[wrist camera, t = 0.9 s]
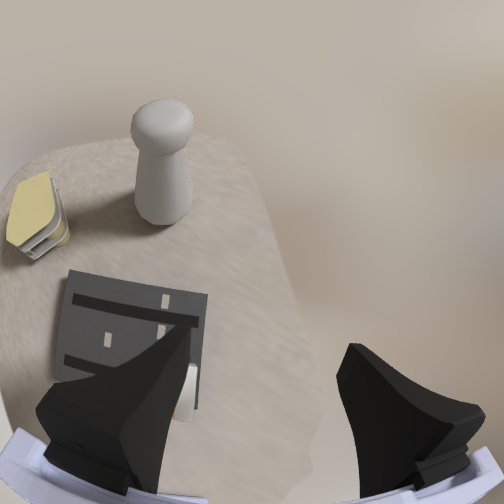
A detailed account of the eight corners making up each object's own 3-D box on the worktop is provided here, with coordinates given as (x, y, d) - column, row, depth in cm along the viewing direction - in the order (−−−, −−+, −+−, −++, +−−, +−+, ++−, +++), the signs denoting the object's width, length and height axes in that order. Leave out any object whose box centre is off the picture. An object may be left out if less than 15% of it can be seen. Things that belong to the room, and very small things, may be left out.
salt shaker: (129, 198, 26) (109, 102, 14) (176, 177, 28) (183, 79, 16) (151, 244, 25) (134, 157, 13) (202, 219, 27) (222, 125, 15)
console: (196, 404, 21) (197, 409, 19) (62, 376, 18) (53, 378, 16) (205, 298, 25) (207, 294, 23) (76, 275, 22) (69, 268, 20)
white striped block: (191, 409, 19) (193, 422, 15) (154, 404, 18) (148, 416, 14) (194, 363, 20) (197, 367, 16) (158, 358, 20) (152, 360, 16)
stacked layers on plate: (19, 207, 22) (-1, 182, 17) (81, 182, 25) (67, 151, 20) (24, 287, 20) (-4, 272, 15) (93, 262, 23) (74, 240, 18)
